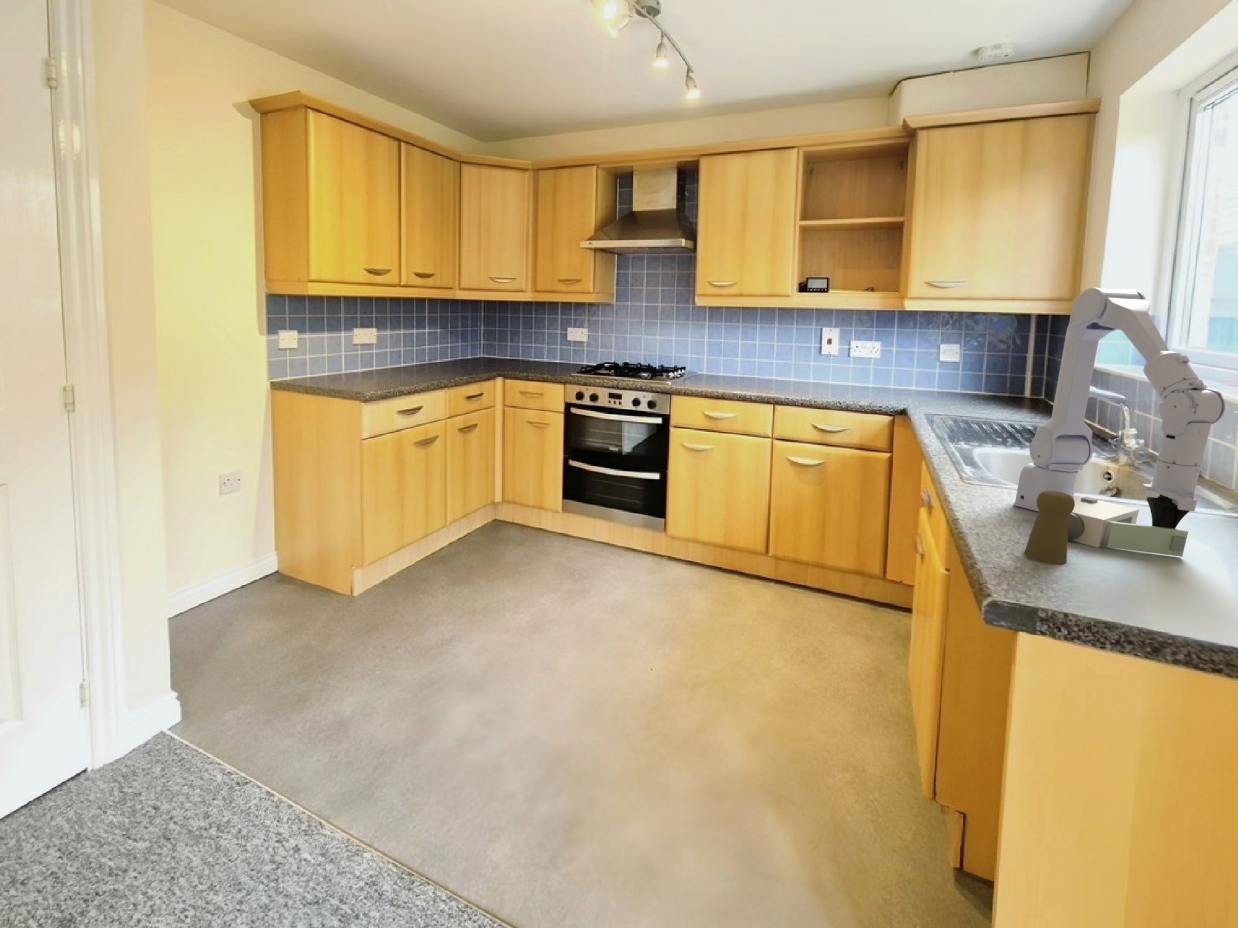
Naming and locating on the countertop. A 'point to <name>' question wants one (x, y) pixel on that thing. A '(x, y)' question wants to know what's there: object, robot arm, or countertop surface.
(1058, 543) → the cork
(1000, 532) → the countertop surface
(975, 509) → the countertop surface
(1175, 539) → the side door
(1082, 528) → the camera box
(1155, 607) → the countertop surface
